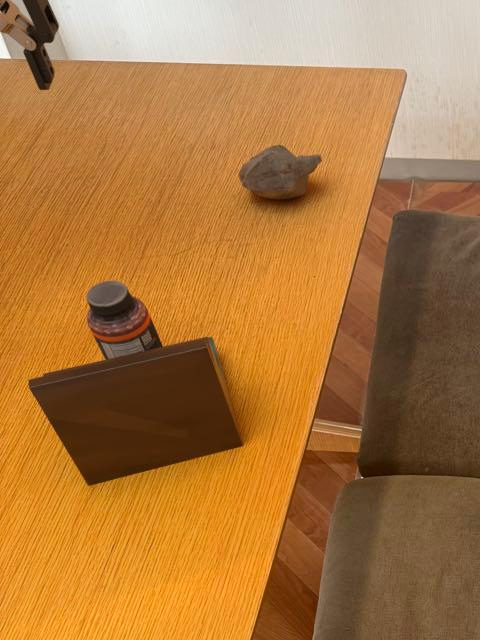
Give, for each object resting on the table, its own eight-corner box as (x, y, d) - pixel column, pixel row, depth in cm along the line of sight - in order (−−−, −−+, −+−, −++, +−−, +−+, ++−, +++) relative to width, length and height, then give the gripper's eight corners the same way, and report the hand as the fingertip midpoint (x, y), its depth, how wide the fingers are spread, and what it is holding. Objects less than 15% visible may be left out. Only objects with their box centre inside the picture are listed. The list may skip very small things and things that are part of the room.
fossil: (320, 172, 127) (309, 117, 121) (333, 207, 122) (323, 153, 116) (241, 186, 125) (226, 131, 118) (251, 223, 120) (236, 167, 113)
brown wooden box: (75, 389, 101) (20, 288, 89) (219, 356, 104) (183, 255, 93) (88, 485, 93) (28, 388, 81) (243, 445, 96) (207, 347, 85)
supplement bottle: (121, 358, 99) (81, 274, 90) (176, 355, 100) (142, 271, 91) (112, 396, 96) (70, 312, 87) (169, 392, 96) (133, 309, 87)
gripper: (-205, -94, 69) (-91, 111, 82) (-13, -97, 70) (70, 105, 83) (-171, -129, 73) (-68, 70, 87) (9, -132, 75) (84, 65, 88)
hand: (0, 87), depth 85 cm, fingers open, 8 cm apart
